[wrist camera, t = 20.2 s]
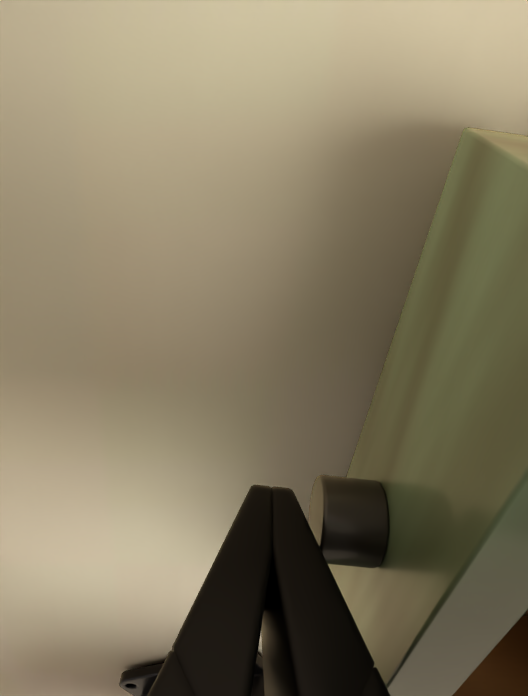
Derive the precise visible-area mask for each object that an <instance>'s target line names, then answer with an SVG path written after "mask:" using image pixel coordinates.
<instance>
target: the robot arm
mask: <svg viewBox="0 0 528 696" xmlns="http://www.w3.org/2000/svg"><path fill="white" fill-rule="evenodd" d="M260 633H261V635H262V654H263V658H262V657H261V656H260V655H259V654H258V646H259V639H260ZM119 685H120V687H121V688H123V689H124V690H126V691H128V692H129V693H131V694H132V695H134V696H390V694H389V692H388V690H387V687H386V685H385V683H384V681H383V679H382V677H381V675H380V673H379V671H378V669H377V668H376V667H374V661H373V658H372V656H371V654H370V652H369V650H368V648H367V646H366V644H365V642H364V640H363V637H362V635H361V633H360V631H359V629H358V627H357V625H356V623H355V621H354V618H353V616H352V614H351V612H350V610H349V608H348V606H347V604H346V602H345V600H344V597H343V595H342V593H341V591H340V589H339V587H338V585H337V583H336V581H335V579H334V576H333V574H332V572H331V570H330V568H329V566H328V564H327V562H326V560H325V557H324V555H323V553H322V551H321V549H320V547H319V545H318V543H317V541H316V539H315V536H314V534H313V532H312V530H311V528H310V526H309V524H308V522H307V520H306V517H305V515H304V513H303V511H302V509H301V507H300V505H299V503H298V501H297V499H296V496H295V494H294V492H293V491H292V490H291V489H289V488H282V487H272V488H271V487H269V486H261V485H253V486H251V488H250V489H249V491H248V493H247V495H246V498H245V500H244V502H243V504H242V506H241V508H240V510H239V512H238V514H237V516H236V518H235V520H234V522H233V524H232V526H231V528H230V530H229V532H228V534H227V536H226V538H225V540H224V542H223V544H222V546H221V548H220V550H219V553H218V555H217V557H216V559H215V561H214V563H213V565H212V567H211V569H210V571H209V573H208V575H207V577H206V579H205V581H204V583H203V585H202V587H201V589H200V591H199V593H198V595H197V597H196V599H195V601H194V603H193V605H192V607H191V610H190V612H189V614H188V616H187V618H186V620H185V622H184V624H183V626H182V628H181V630H180V632H179V634H178V636H177V638H176V640H175V642H174V644H173V646H172V651H170V652H169V654H168V656H167V658H166V660H165V662H164V663H162V664H157V665H152V666H147V667H142V668H137V669H133V670H128V671H124V672H123V673H122V675H121V679H120V684H119Z"/></svg>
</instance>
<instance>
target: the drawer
mask: <svg viewBox="0 0 528 696" xmlns="http://www.w3.org/2000/svg"><path fill="white" fill-rule="evenodd" d="M308 524H309V526H310V528H311V530H312V532H313V534H314V536H315V539H316V541H317V543H318V545H319V547H320V549H321V551H322V553H323V555H324V557H325V560H326V562H327V564H328V566H329V568H330V570H331V572H332V574H333V576H334V579H335V581H336V583H337V585H338V587H339V589H340V591H341V593H342V595H343V597H344V600H345V602H346V604H347V606H348V608H349V610H350V612H351V614H352V616H353V618H354V621H355V623H356V625H357V627H358V629H359V631H360V633H361V635H362V637H363V640H364V642H365V644H366V646H367V648H368V650H369V652H370V654H371V656H372V658H373V661H374V667H376V668H377V669H378V671H379V673H380V675H381V677H382V679H383V681H384V683H385V685H386V687H387V690H388V692H389V694H390V696H528V136H525V135H518V134H511V133H504V132H497V131H490V130H483V129H476V128H469V127H468V128H465V129H464V130H463V132H462V135H461V138H460V141H459V144H458V147H457V150H456V153H455V156H454V159H453V162H452V165H451V168H450V171H449V173H448V176H447V179H446V182H445V185H444V188H443V191H442V194H441V197H440V200H439V203H438V206H437V209H436V212H435V215H434V218H433V221H432V224H431V227H430V230H429V233H428V236H427V239H426V242H425V245H424V248H423V251H422V254H421V257H420V260H419V263H418V265H417V268H416V271H415V274H414V277H413V280H412V283H411V286H410V289H409V292H408V295H407V298H406V301H405V304H404V307H403V310H402V313H401V316H400V319H399V322H398V325H397V328H396V331H395V334H394V337H393V340H392V343H391V346H390V349H389V352H388V354H387V357H386V360H385V363H384V366H383V369H382V372H381V375H380V378H379V381H378V384H377V387H376V390H375V393H374V396H373V399H372V402H371V405H370V408H369V411H368V414H367V417H366V420H365V423H364V426H363V429H362V432H361V435H360V438H359V441H358V443H357V446H356V449H355V452H354V455H353V458H352V461H351V464H350V467H349V470H348V473H347V476H346V477H339V476H329V475H319V476H318V477H317V478H316V480H315V483H314V485H313V489H312V494H311V500H310V508H309V523H308Z"/></svg>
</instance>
